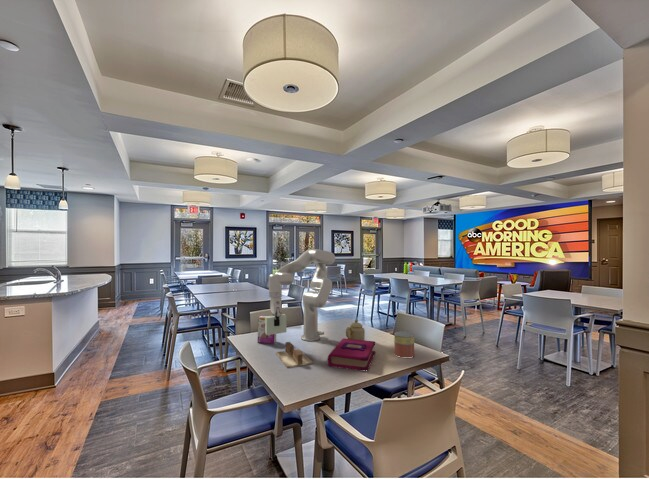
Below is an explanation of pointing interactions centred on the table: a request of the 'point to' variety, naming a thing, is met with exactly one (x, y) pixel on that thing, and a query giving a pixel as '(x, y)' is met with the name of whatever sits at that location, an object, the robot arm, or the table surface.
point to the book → (352, 354)
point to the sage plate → (275, 329)
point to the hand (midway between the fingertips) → (275, 324)
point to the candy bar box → (261, 332)
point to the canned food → (404, 344)
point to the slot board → (293, 357)
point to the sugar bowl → (355, 331)
